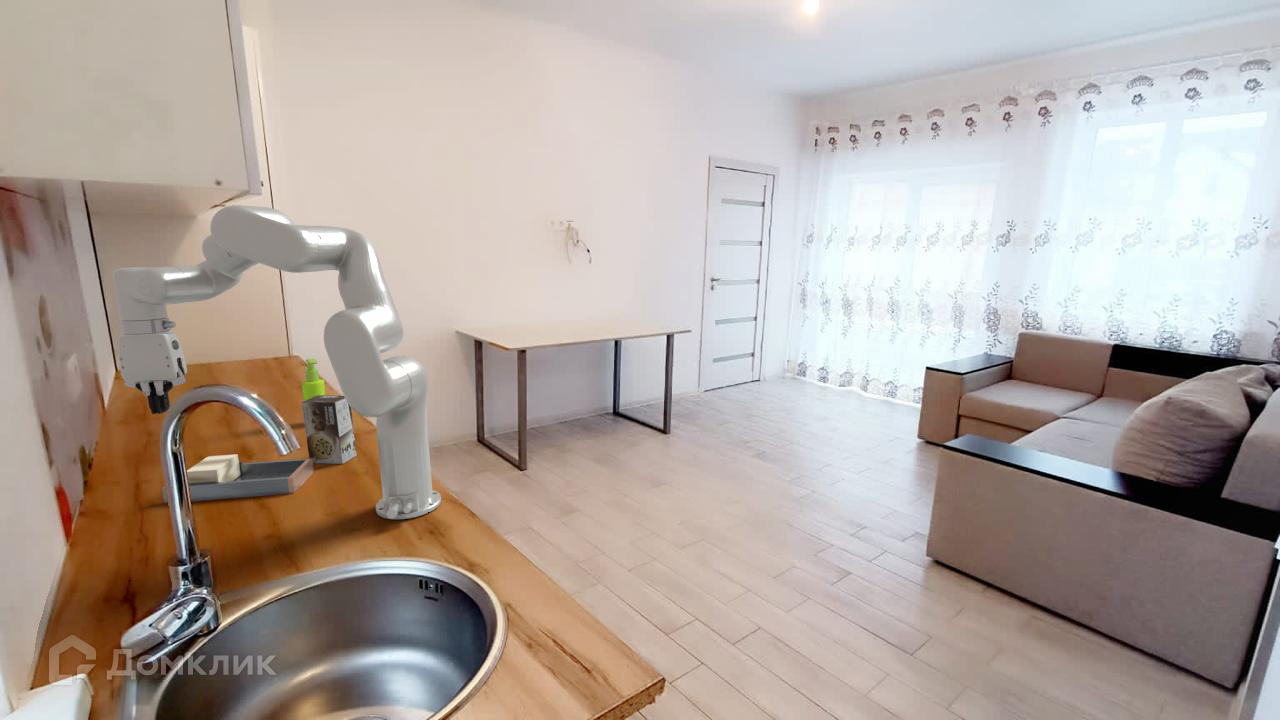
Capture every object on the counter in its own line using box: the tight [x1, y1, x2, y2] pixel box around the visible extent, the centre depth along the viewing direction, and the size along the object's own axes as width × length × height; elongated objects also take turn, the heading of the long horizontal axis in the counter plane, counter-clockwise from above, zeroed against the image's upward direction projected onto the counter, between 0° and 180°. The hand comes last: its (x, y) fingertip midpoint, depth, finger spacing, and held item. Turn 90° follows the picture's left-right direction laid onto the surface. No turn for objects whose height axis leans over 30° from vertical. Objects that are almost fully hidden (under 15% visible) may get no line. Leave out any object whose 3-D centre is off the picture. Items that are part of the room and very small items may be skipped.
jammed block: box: [186, 453, 241, 483], centre depth 126 cm, size 9×6×5 cm, turn 12°
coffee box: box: [300, 394, 357, 465], centre depth 142 cm, size 9×6×16 cm
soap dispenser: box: [301, 358, 327, 401], centre depth 171 cm, size 6×7×20 cm
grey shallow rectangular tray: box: [161, 457, 315, 504], centre depth 127 cm, size 12×25×4 cm, turn 102°
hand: (160, 411), depth 121 cm, fingers closed
